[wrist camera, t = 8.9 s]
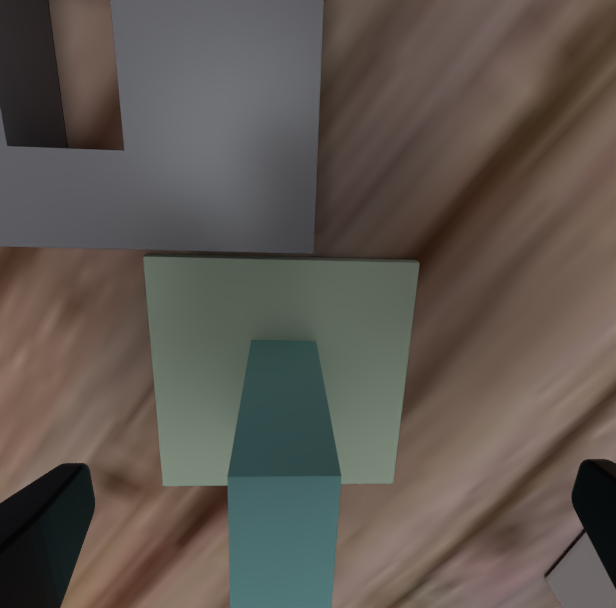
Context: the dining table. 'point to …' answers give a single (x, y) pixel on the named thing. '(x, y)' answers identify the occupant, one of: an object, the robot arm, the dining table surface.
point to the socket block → (169, 130)
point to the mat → (277, 326)
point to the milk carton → (582, 579)
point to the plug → (283, 482)
